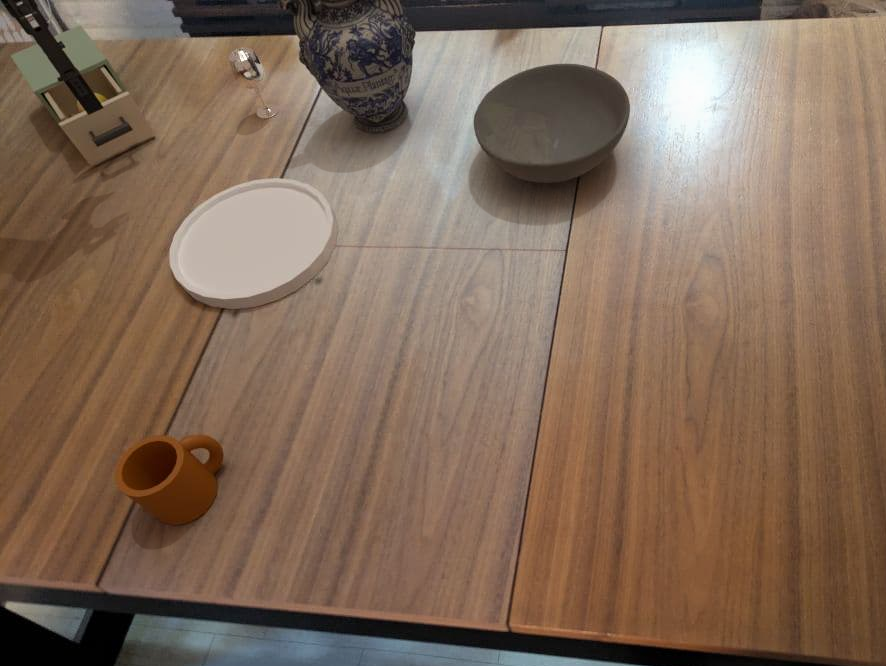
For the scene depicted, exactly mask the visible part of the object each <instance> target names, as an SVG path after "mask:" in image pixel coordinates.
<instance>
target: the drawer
mask: <svg viewBox="0 0 886 666" xmlns="http://www.w3.org/2000/svg"><path fill="white" fill-rule="evenodd" d="M81 76H82V77H83V78H84V80H85V81H86V83H87V84H88V86H89V87H90V88H91V90H92V91H93V93H98V94H100V95H102V96H104V97H105V98H106V99H108V100H107V101H105V102H103V103H101V104H102V106H103V107H104V108H103V109H101V110H98V111H96V112H94V113H92V114H90V115H88V114H87V112H86V111H84V112H82V113H79V112H78V109H77V99H76V97H75V96H74V95H73V93H72V92H71V90H70V89H69V88H68V86H67V85H66V83H63V84H61V85H58V86H56V87H54V88H52V89H50V90H47V91H45V92H43V93H44V95H45V96H46V98H47V99H48V101H49V102H50V104H51V106H52V107H53V109H54V110H55V112H56V113H57V115H58V116H59V118H60V119H61V121H62V122H60V123H57V124H58V126H59V127H60V129H61V130H62V131H63V132H64V134H65V135H66V136H67V137H68V139H69V140H70V141H71V143H72V144H73V145H74V147H75V148H76V149H77V150H78V152H79V153H80V154H81V155H82V157H83V159H85V161H86V162H87V163H88V164H89V166H92V165H95V164H96V163H99V162H100V161H102V160H105V159H106V158H108V157H110V156H113V155H115V154H117V153H119V152H122V151H123V150H125V149H127V148H129V147H132V146H133V145H135V144H138V143H139V142H141V141H143V140H146V139H148V138H149V137H151V136H153V135H155V134H156V132H155V131H154V129H153V128H152V127H151V125H150V123H149V122H148V120H147V118H146V117H145V115H144V114H143V113H142V111H141V109H140V108H139V106H138V105H137V103H136V102H135V100H134V98H133V97H132V96H130V95H131V94H130V92H129V90H127V91H126V92H124V93H123V91H122V90H121V89H120V87H119V86H118V85H117V83H116V82H115V81H114V80H113V78H112V77H111V76H110V74H109V73H108V72H107V70H106V69H105V68H104V66H103V65H102V66H100V67H98V68H96V69H94V70H91V71H89V72H87V73H85V74H83V75H81ZM128 92H129V93H128ZM132 98H133V99H132ZM78 113H79V114H78ZM76 114H77V115H76ZM68 115H75V116H73V117H70V116H68Z"/></svg>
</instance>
